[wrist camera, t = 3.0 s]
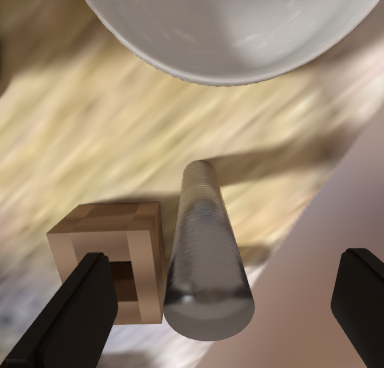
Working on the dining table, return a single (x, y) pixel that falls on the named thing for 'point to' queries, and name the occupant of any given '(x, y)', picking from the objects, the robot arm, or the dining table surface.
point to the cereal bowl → (230, 34)
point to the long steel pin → (205, 264)
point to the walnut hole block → (118, 254)
